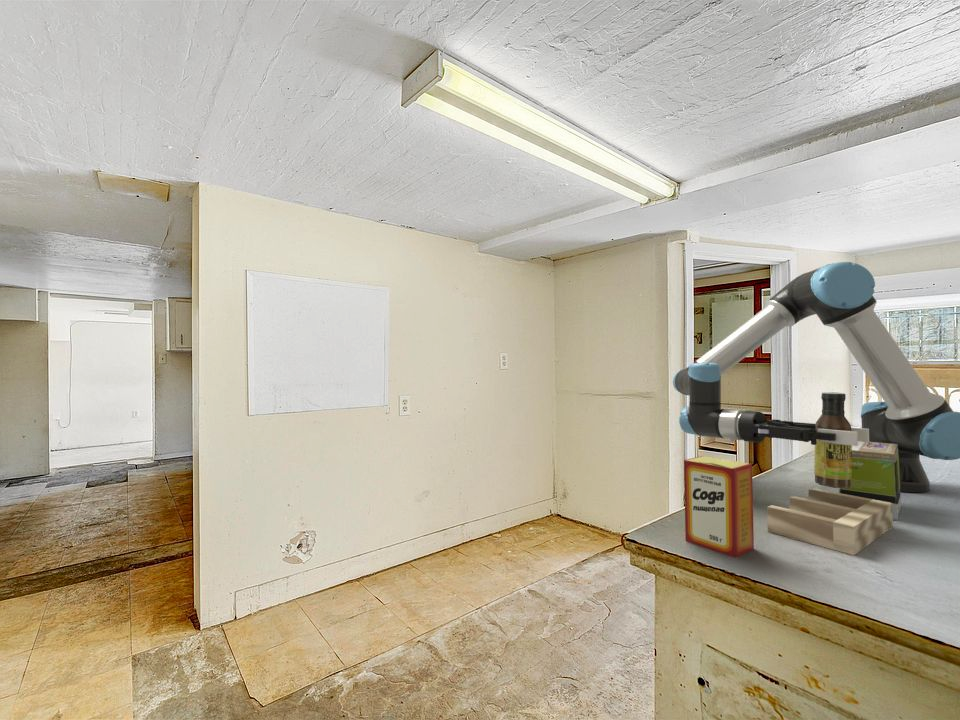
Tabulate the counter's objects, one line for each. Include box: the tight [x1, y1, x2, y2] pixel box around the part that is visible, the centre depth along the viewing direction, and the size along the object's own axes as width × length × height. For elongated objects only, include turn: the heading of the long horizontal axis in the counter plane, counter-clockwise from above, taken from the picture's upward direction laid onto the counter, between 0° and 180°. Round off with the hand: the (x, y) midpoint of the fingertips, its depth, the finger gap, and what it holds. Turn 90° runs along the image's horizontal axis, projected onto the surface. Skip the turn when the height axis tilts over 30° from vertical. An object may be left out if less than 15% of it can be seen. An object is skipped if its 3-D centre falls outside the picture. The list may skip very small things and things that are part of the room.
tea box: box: [838, 441, 902, 521], centre depth 104 cm, size 15×10×15 cm
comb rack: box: [766, 487, 894, 556], centre depth 91 cm, size 23×14×5 cm, turn 125°
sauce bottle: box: [813, 391, 852, 489], centre depth 95 cm, size 6×6×20 cm
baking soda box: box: [683, 455, 755, 558], centre depth 85 cm, size 10×6×16 cm
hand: (862, 437), depth 91 cm, fingers closed on sauce bottle, 6 cm apart
